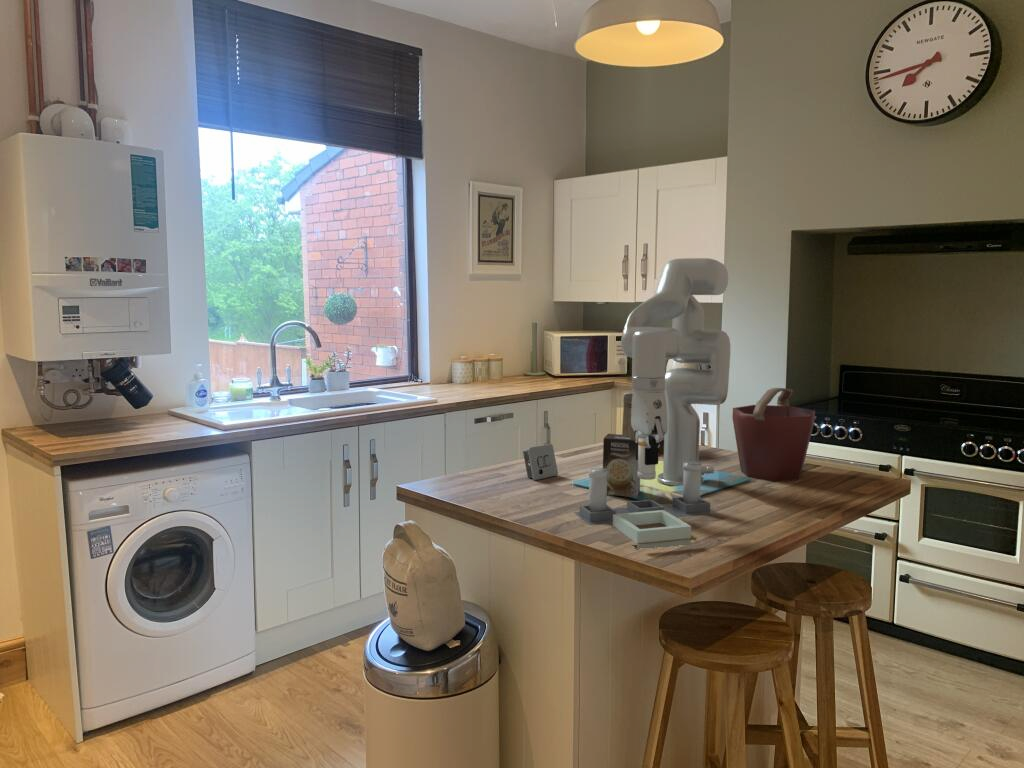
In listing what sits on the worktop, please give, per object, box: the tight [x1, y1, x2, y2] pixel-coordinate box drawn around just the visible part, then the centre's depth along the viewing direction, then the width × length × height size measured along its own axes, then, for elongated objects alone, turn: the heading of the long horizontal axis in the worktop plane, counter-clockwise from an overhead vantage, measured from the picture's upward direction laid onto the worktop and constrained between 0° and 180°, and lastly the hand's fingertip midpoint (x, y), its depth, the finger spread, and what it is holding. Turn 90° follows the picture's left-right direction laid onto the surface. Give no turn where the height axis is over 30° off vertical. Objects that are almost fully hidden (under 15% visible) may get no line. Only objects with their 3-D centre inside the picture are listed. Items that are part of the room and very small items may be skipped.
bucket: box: [731, 387, 816, 482], centre depth 223 cm, size 24×22×25 cm
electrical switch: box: [522, 443, 559, 481], centre depth 221 cm, size 9×5×9 cm, turn 131°
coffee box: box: [602, 433, 641, 498], centre depth 198 cm, size 9×6×16 cm
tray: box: [612, 510, 692, 549], centre depth 168 cm, size 12×12×4 cm
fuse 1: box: [588, 467, 608, 513], centre depth 177 cm, size 4×4×11 cm
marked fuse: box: [637, 431, 657, 481], centre depth 180 cm, size 4×4×11 cm
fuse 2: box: [682, 461, 703, 504], centre depth 184 cm, size 4×4×11 cm
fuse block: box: [573, 496, 717, 526], centre depth 182 cm, size 32×10×4 cm, turn 106°
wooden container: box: [621, 392, 664, 455], centre depth 256 cm, size 15×15×22 cm
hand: (646, 461), depth 180 cm, fingers closed on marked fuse, 4 cm apart
